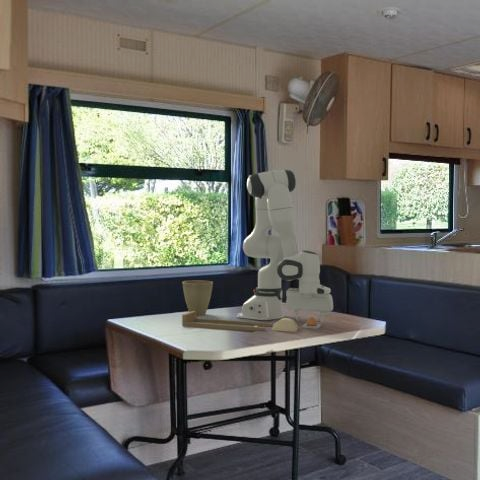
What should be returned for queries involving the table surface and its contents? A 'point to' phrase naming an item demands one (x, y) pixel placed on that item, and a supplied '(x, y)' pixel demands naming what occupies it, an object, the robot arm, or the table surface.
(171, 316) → the table surface
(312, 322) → the ball
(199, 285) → the plant pot
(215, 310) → the table surface
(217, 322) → the lane
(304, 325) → the coaster
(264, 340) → the table surface
